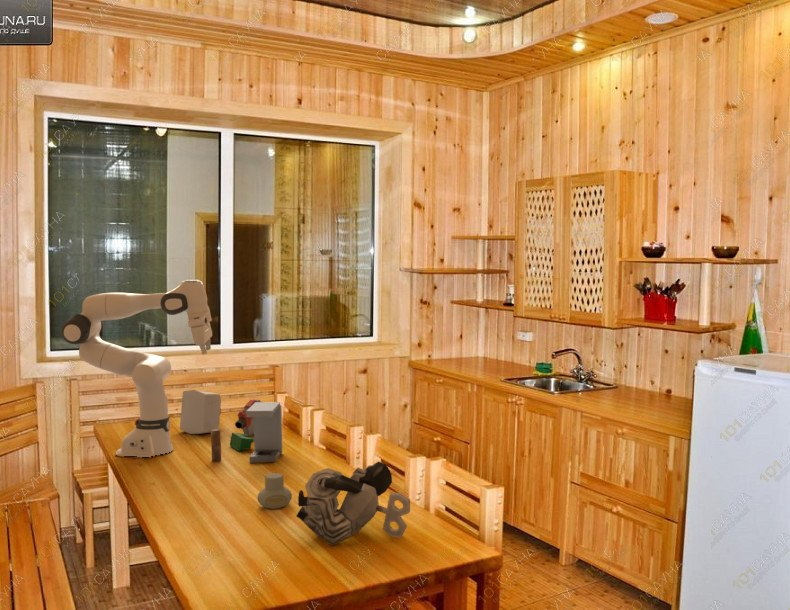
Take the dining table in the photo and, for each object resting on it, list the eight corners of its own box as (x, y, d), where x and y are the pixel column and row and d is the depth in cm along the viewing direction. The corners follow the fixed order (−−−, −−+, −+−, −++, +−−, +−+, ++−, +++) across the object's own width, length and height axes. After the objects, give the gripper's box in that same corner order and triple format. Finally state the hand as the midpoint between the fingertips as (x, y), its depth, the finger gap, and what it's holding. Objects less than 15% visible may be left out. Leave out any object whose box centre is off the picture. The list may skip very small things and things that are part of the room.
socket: (249, 463, 286) (249, 456, 286) (255, 455, 296) (255, 449, 296) (275, 463, 286) (275, 456, 285) (279, 455, 296) (279, 449, 295)
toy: (283, 524, 220) (356, 470, 237) (354, 591, 202) (427, 528, 220) (279, 475, 207) (356, 423, 225) (354, 543, 190) (432, 480, 208)
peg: (210, 461, 288) (209, 431, 288) (213, 459, 292) (212, 429, 291) (219, 461, 288) (219, 431, 287) (222, 459, 292) (221, 429, 291)
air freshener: (258, 512, 232) (258, 481, 231) (256, 503, 240) (255, 473, 239) (293, 508, 235) (292, 477, 234) (290, 500, 243) (289, 470, 242)
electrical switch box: (226, 433, 341) (229, 390, 342) (202, 436, 329) (205, 391, 330) (203, 430, 349) (207, 387, 350) (179, 432, 337) (183, 388, 338)
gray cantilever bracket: (246, 465, 283) (245, 411, 281) (255, 453, 299) (254, 402, 297) (275, 465, 283) (273, 410, 281) (282, 453, 299) (281, 402, 297)
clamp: (248, 459, 306) (256, 441, 304) (235, 458, 303) (242, 440, 300) (241, 443, 316) (248, 425, 313) (228, 441, 312) (235, 423, 310)
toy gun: (238, 445, 325) (232, 415, 319) (258, 420, 342) (252, 392, 337) (246, 445, 324) (240, 416, 318) (266, 421, 341) (260, 393, 336)
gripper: (196, 316, 307) (203, 348, 309) (187, 323, 287) (194, 358, 289) (211, 313, 308) (218, 345, 310) (203, 321, 288) (210, 355, 290)
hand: (206, 351), depth 299 cm, fingers open, 8 cm apart
